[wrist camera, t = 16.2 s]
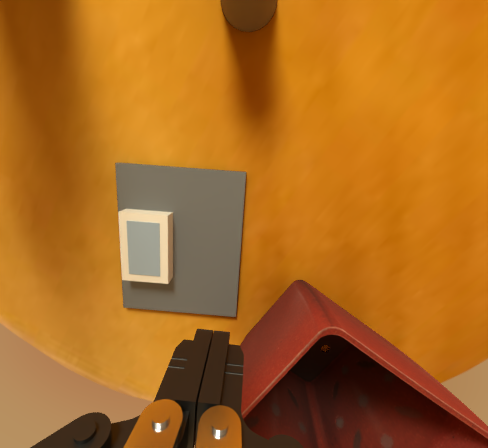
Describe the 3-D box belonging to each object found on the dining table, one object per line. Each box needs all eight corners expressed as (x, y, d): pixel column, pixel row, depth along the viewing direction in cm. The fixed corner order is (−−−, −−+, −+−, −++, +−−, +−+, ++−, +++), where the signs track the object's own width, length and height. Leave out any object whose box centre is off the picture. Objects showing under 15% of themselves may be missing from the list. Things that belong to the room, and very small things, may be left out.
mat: (118, 162, 32) (115, 162, 31) (246, 172, 32) (246, 172, 31) (126, 304, 37) (123, 307, 36) (236, 313, 37) (235, 317, 36)
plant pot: (294, 243, 34) (332, 323, 18) (400, 321, 36) (520, 456, 20) (212, 340, 38) (181, 476, 22) (311, 404, 40) (350, 571, 24)
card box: (172, 212, 33) (126, 208, 33) (167, 215, 31) (117, 212, 31) (172, 276, 35) (129, 273, 35) (167, 284, 33) (121, 280, 33)
